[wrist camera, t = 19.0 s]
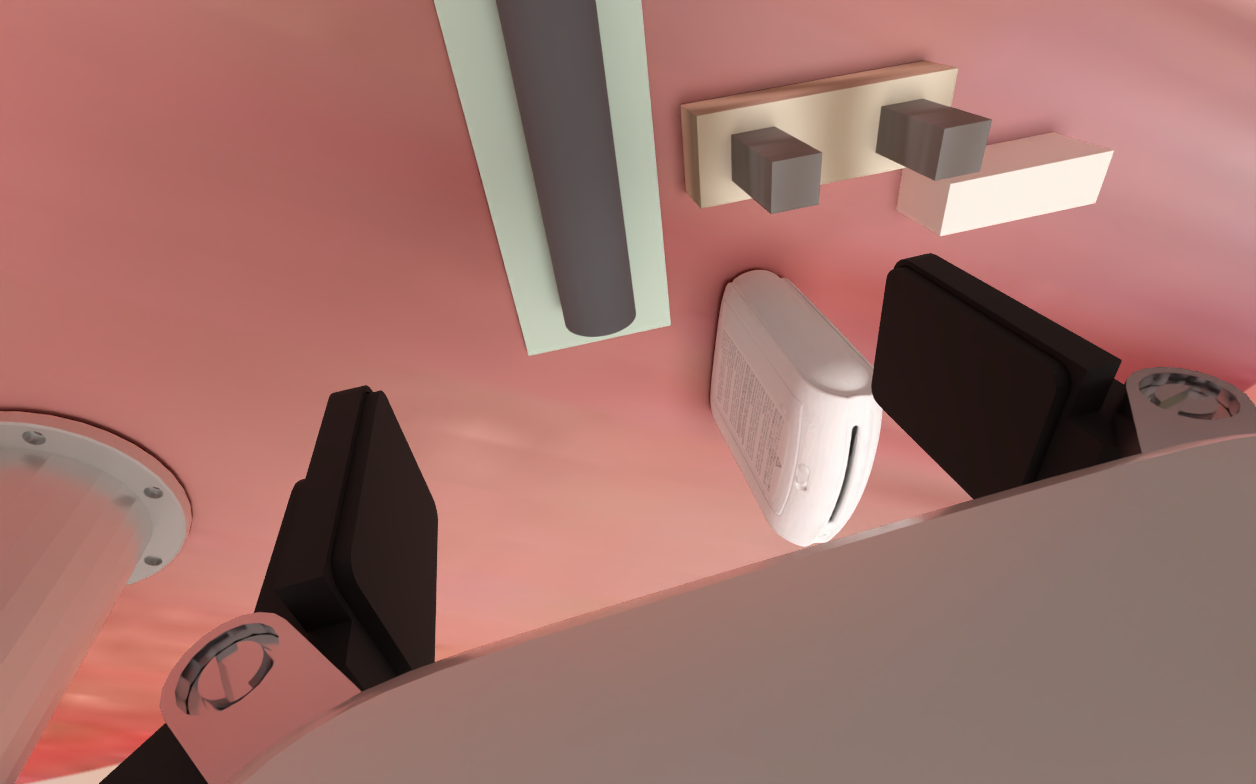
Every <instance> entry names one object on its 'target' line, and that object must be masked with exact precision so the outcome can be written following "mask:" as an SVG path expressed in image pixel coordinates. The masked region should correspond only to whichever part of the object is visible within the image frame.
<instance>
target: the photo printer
mask: <svg viewBox="0 0 1256 784" xmlns="http://www.w3.org/2000/svg"><path fill="white" fill-rule="evenodd" d="M873 369H874V366H873V365H872V364H870V363H869V362H868V360H867V359H866V358H865V357H864V356H863V355H862V354H861V353H860V352H859V351H858V350H857V349H856V348H855V347H854V346H853V345H852V344H851V342H850V341H849V340H848V339H847V338H846V337H845V336H844V335H843V334H842V333H841V332H840V331H839V330H838V329H837V328H836V327H835V326H834V325H833V324H832V323H831V322H830V321H829V320H828V319H827V317H826V316H825V315H824V314H823V313H822V312H821V311H820V310H819V309H818V308H817V307H816V306H815V305H814V304H813V303H812V302H811V301H810V300H809V299H808V298H807V297H806V296H805V295H804V294H803V293H802V292H801V291H800V290H799V289H798V288H797V287H796V286H795V285H794V284H793V283H792V282H791V281H790V280H788V279H787V278H779V277H778V276H777V275H776V274H774V273H773V272H770V271H767V270H753V271H749V272H746V273H743V274H741V275H739V276H738V277H736V278H735V279H734V280H733V282H732V283H728V284H727V286H726V288H725V292H724V295H723V299H722V303H721V308H720V315H719V321H718V329H717V336H716V345H715V353H714V362H713V371H712V379H711V395H710V403H711V411H712V415H713V418H714V420H715V422H716V424H717V426H718V428H719V430H720V432H721V434H722V435H723V437H724V439H725V441H726V443H727V445H728V447H729V449H730V451H731V453H732V455H733V456H734V458H735V460H736V462H737V464H738V466H739V468H740V470H741V472H742V474H743V476H744V477H745V479H746V481H747V483H748V485H749V487H750V489H751V491H752V493H753V495H754V497H755V499H756V501H757V503H758V504H759V507H760V508H761V510H762V512H763V514H764V516H765V518H766V520H767V522H768V523H769V525H770V526H771V528H772V529H773V530H774V531H775V532H776V533H777V534H779V535H780V536H781V537H783V538H784V539H786V540H788V541H789V542H791V543H794V544H796V545H799V546H808V545H810V544H813V543H826V542H828V541H829V540H830V539H831V538H833V537H834V536H835V535H836V534H837V533H838V532H839V531H840V530H841V529H842V527H843V526H844V525H845V524H846V522H847V521H848V519H849V518H850V517H851V515H852V513H853V512H854V510H855V508H856V506H857V504H858V502H859V500H860V498H861V496H862V494H863V491H864V489H865V486H866V484H867V481H868V478H869V475H870V472H871V469H872V465H873V462H874V458H875V453H876V449H877V444H878V440H879V434H880V428H881V420H882V408H881V407H880V406H879V405H878V404H877V403H876V401H875V400H874V398H873V395H872V390H871V383H872V376H873Z"/></svg>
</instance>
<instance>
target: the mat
mask: <svg viewBox="0 0 1256 784" xmlns="http://www.w3.org/2000/svg"><path fill="white" fill-rule="evenodd" d="M434 4H435V7H436V11H437V15H438V19H439V22H440V26H441V30H442V33H443V37H444V41H445V45H446V48H447V52H448V56H449V60H450V63H451V67H452V71H453V75H454V78H455V82H456V86H457V90H458V93H459V97H460V101H461V104H462V108H463V112H464V116H465V119H466V123H467V127H468V131H469V134H470V138H471V142H472V146H473V149H474V153H475V157H476V160H477V164H478V168H479V172H480V175H481V179H482V183H483V187H484V190H485V194H486V198H487V202H488V205H489V209H490V213H491V217H492V220H493V224H494V228H495V231H496V235H497V239H498V243H499V246H500V250H501V254H502V258H503V261H504V265H505V269H506V273H507V276H508V280H509V284H510V287H511V291H512V295H513V299H514V302H515V306H516V310H517V314H518V317H519V321H520V325H521V329H522V332H523V336H524V340H525V344H526V347H527V351H528V355H529V356H531V355H536V354H540V353H545V352H550V351H554V350H559V349H563V348H568V347H573V346H577V345H582V344H587V343H591V342H596V341H600V340H605V339H610V338H614V337H619V336H623V335H628V334H633V333H637V332H642V331H646V330H651V329H656V328H660V327H665V326H669V325H671V321H670V310H669V299H668V288H667V277H666V266H665V255H664V244H663V233H662V222H661V211H660V200H659V189H658V178H657V167H656V156H655V145H654V134H653V123H652V112H651V101H650V90H649V79H648V68H647V57H646V46H645V35H644V24H643V13H642V2H641V0H596V7H597V15H598V23H599V30H600V38H601V46H602V54H603V61H604V69H605V77H606V84H607V92H608V100H609V108H610V115H611V123H612V131H613V139H614V146H615V154H616V162H617V170H618V177H619V185H620V193H621V200H622V208H623V216H624V224H625V231H626V239H627V247H628V255H629V262H630V270H631V278H632V286H633V293H634V301H635V309H636V317H635V319H634V321H633V322H632V323H631V324H630V325H629V326H628V327H626V328H625V329H623V330H621V331H619V332H616V333H614V334H610V335H606V336H600V337H585V336H580V335H576V334H574V333H572V332H570V331H569V330H568V329H567V328H566V326H565V321H564V317H563V312H562V307H561V303H560V298H559V293H558V289H557V284H556V279H555V275H554V270H553V265H552V261H551V256H550V251H549V247H548V242H547V237H546V233H545V228H544V223H543V219H542V214H541V209H540V205H539V200H538V195H537V191H536V186H535V181H534V177H533V172H532V167H531V163H530V158H529V153H528V149H527V144H526V139H525V135H524V130H523V125H522V121H521V116H520V111H519V107H518V102H517V97H516V93H515V88H514V83H513V79H512V74H511V69H510V65H509V60H508V55H507V51H506V46H505V41H504V37H503V32H502V27H501V23H500V18H499V13H498V9H497V4H496V0H434Z"/></svg>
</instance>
